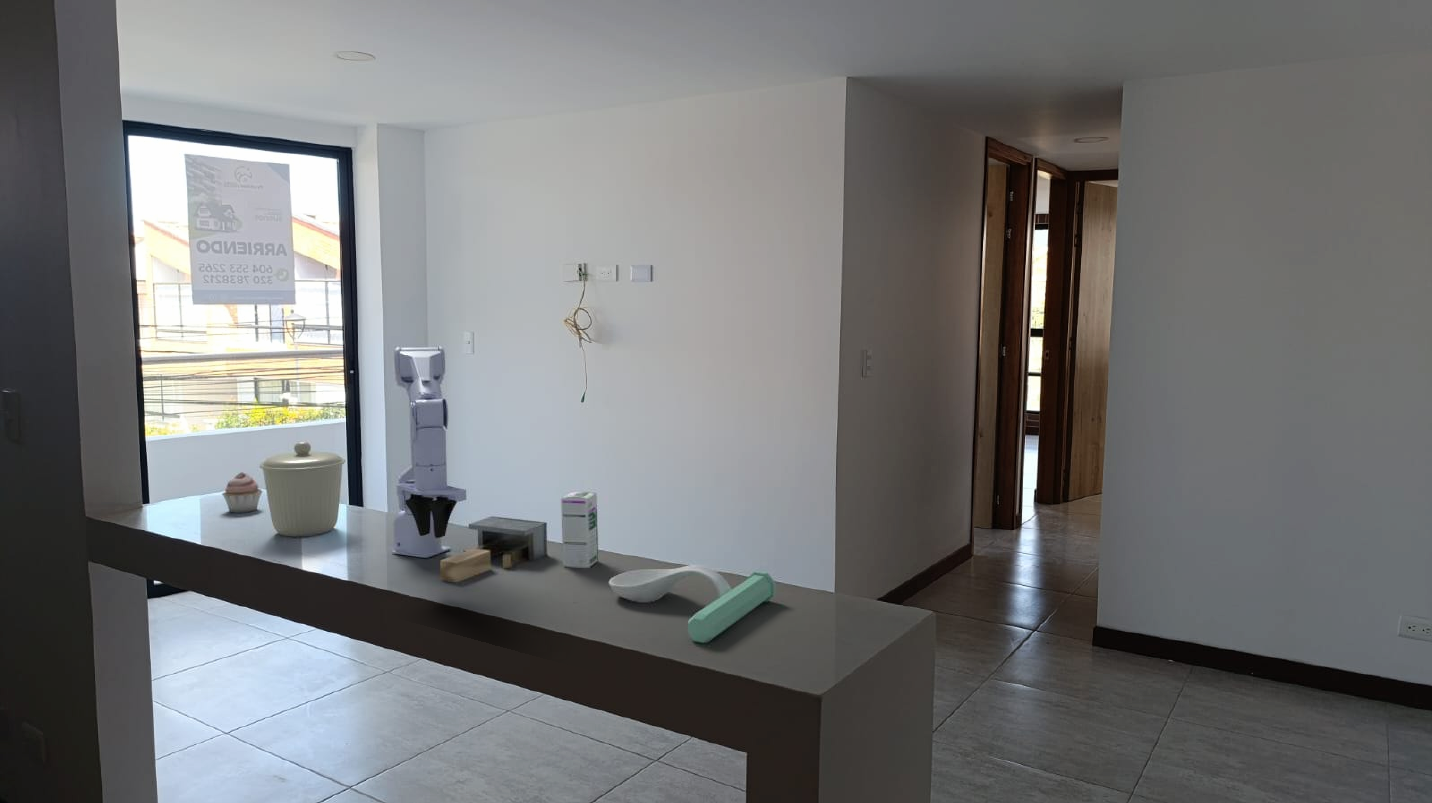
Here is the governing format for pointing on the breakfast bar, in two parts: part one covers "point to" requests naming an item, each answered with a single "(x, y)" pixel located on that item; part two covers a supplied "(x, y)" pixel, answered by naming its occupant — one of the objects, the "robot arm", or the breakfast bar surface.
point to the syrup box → (579, 529)
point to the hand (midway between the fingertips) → (432, 535)
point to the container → (731, 607)
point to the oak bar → (465, 565)
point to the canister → (303, 490)
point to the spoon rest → (662, 582)
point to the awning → (511, 538)
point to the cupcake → (242, 494)
